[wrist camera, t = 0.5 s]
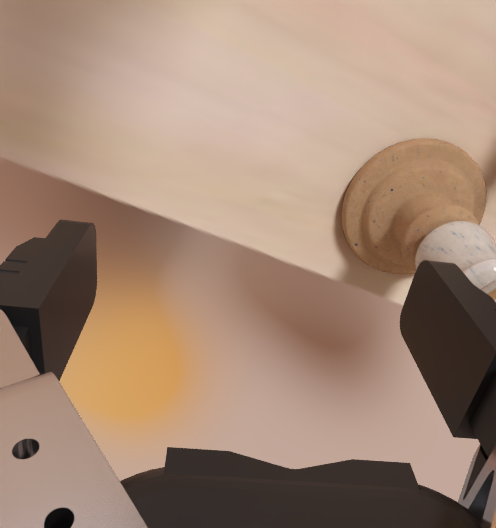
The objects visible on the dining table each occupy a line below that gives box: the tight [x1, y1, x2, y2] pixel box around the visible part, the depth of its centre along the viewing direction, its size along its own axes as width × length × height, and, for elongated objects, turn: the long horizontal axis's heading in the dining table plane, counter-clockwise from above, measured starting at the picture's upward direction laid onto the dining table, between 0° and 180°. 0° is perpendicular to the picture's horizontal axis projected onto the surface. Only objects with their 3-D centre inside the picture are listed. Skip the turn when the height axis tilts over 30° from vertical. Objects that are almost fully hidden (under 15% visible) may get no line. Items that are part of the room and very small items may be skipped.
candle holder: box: [342, 139, 496, 302], centre depth 33 cm, size 12×12×20 cm
